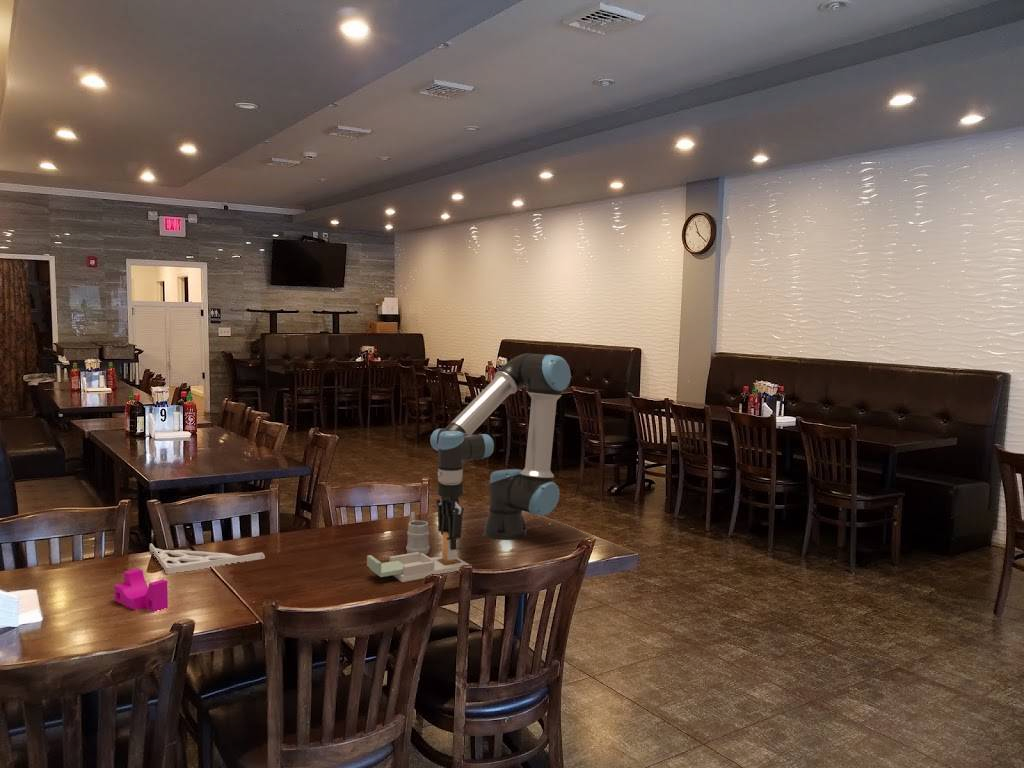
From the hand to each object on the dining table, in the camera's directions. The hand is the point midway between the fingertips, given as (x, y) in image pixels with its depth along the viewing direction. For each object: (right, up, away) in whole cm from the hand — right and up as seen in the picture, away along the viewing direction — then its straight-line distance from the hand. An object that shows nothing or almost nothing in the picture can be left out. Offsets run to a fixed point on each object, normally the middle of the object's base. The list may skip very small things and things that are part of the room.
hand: (448, 557), depth 230 cm
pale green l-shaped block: (-17, -1, -11) cm, 20 cm away
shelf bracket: (-78, -2, +9) cm, 78 cm away
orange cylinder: (0, -2, 0) cm, 2 cm away
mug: (-12, -2, +16) cm, 20 cm away
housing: (-6, -3, -3) cm, 8 cm away
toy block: (-77, -5, -34) cm, 85 cm away
